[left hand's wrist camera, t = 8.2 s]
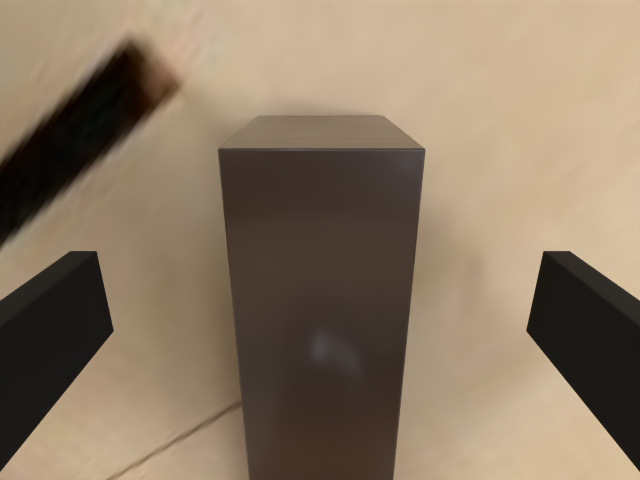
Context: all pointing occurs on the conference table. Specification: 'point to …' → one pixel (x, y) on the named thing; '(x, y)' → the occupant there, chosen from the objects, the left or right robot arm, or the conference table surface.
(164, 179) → the conference table surface
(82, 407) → the conference table surface
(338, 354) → the beam
